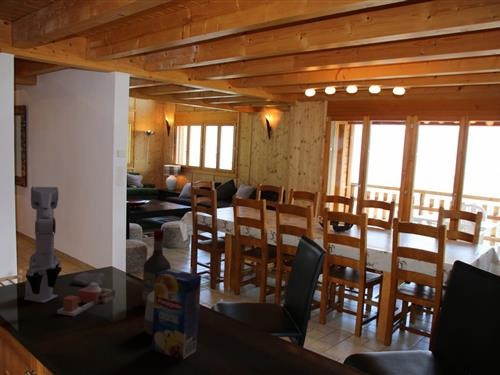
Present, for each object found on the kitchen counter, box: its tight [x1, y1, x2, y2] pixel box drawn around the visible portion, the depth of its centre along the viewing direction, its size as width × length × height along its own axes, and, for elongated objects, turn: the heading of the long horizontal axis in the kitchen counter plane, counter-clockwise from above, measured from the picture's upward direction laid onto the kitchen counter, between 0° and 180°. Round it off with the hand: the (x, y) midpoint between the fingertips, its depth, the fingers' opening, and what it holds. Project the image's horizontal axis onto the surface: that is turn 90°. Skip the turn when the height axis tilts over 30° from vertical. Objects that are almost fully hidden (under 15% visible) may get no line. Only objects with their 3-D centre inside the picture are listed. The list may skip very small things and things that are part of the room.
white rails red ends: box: [56, 288, 99, 317], centre depth 160 cm, size 8×14×5 cm, turn 166°
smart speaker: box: [143, 291, 155, 337], centre depth 143 cm, size 10×9×14 cm
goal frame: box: [81, 286, 116, 304], centre depth 172 cm, size 12×7×3 cm, turn 76°
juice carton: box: [151, 268, 202, 361], centre depth 132 cm, size 12×8×24 cm, turn 62°
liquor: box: [141, 229, 172, 309], centre depth 167 cm, size 9×9×30 cm
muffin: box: [86, 282, 102, 298], centre depth 170 cm, size 6×6×7 cm
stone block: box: [73, 271, 106, 287], centre depth 189 cm, size 12×5×10 cm
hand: (43, 290), depth 151 cm, fingers open, 7 cm apart
